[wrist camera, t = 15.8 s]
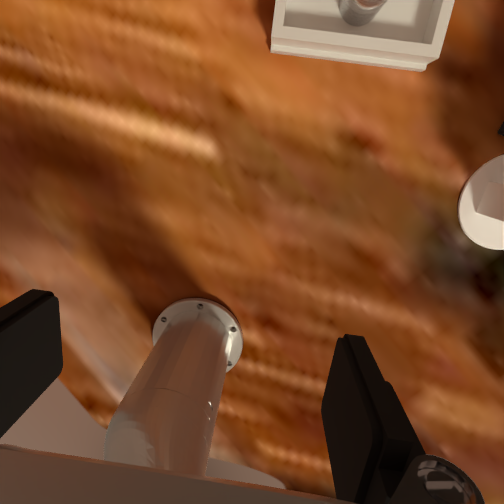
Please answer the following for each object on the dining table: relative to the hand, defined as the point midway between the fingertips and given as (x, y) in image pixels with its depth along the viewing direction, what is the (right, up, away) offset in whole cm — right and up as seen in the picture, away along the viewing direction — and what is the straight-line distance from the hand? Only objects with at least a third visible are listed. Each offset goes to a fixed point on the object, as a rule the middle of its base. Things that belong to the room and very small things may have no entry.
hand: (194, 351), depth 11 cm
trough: (+12, +28, +22) cm, 38 cm away
